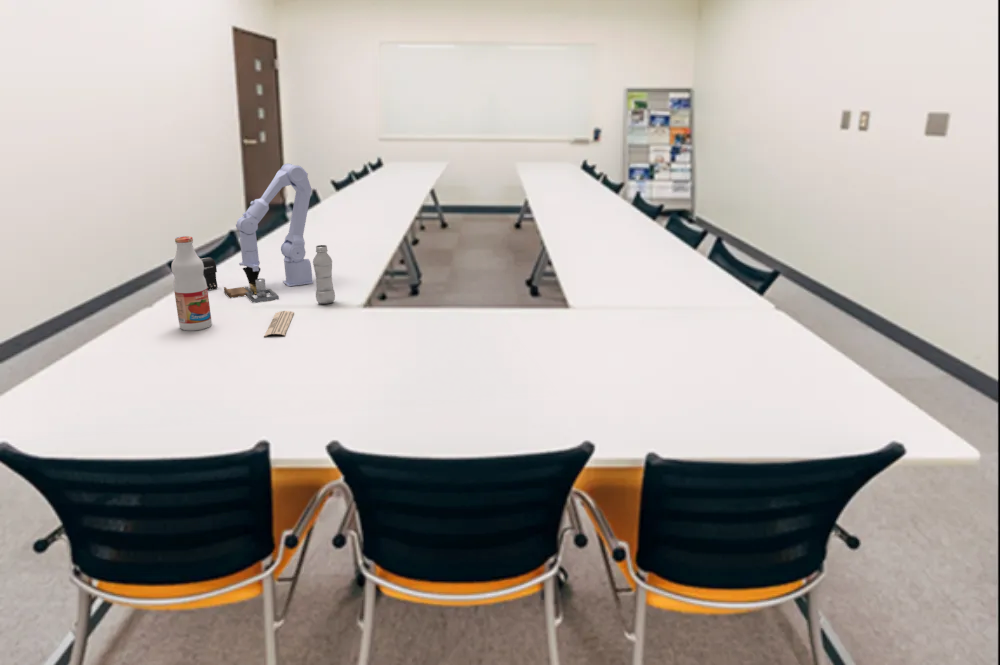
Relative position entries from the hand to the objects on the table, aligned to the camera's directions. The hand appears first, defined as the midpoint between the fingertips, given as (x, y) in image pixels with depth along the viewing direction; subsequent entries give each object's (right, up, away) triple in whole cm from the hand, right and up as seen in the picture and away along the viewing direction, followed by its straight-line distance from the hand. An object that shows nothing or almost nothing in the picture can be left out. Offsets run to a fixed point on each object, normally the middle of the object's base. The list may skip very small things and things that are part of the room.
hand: (253, 286), depth 270 cm
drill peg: (+6, -4, -9) cm, 12 cm away
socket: (+4, -3, -6) cm, 8 cm away
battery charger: (-17, -1, +1) cm, 17 cm away
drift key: (+2, -2, -3) cm, 4 cm away
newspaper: (+21, -15, -39) cm, 47 cm away
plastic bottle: (+30, -7, -16) cm, 35 cm away
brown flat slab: (-4, -3, -5) cm, 7 cm away
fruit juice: (-4, -15, -41) cm, 43 cm away
